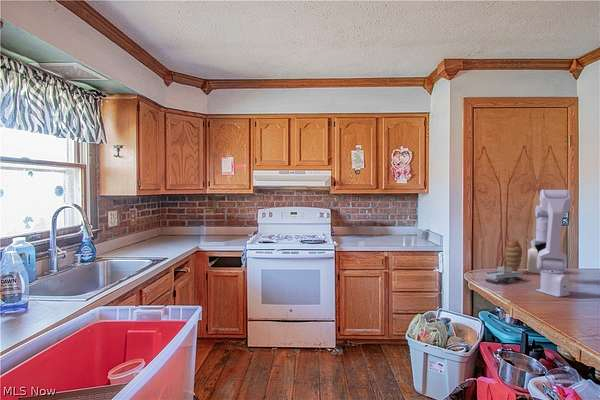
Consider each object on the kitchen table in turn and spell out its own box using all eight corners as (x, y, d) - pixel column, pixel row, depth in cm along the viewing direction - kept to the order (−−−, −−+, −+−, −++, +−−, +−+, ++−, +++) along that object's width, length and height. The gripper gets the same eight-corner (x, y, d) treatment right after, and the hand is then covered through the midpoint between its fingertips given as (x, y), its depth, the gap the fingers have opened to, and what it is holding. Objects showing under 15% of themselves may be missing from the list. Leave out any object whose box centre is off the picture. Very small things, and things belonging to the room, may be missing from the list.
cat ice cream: (525, 275, 174) (526, 240, 173) (509, 275, 174) (510, 240, 174) (515, 270, 183) (515, 237, 182) (500, 270, 183) (501, 237, 182)
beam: (523, 275, 164) (523, 271, 164) (496, 278, 157) (496, 274, 157) (511, 272, 169) (511, 269, 169) (484, 275, 163) (485, 271, 163)
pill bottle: (545, 274, 175) (546, 245, 175) (526, 272, 180) (527, 244, 179) (545, 271, 182) (546, 243, 181) (527, 269, 186) (528, 242, 186)
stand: (524, 280, 163) (524, 276, 163) (497, 284, 157) (497, 279, 157) (510, 277, 170) (510, 272, 170) (483, 280, 163) (483, 275, 163)
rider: (511, 273, 163) (511, 266, 163) (503, 274, 161) (504, 267, 161) (504, 272, 166) (504, 265, 166) (497, 273, 164) (497, 265, 164)
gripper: (544, 229, 170) (543, 256, 170) (524, 230, 165) (524, 258, 165) (560, 231, 163) (559, 259, 164) (539, 232, 158) (538, 261, 159)
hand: (542, 259), depth 164 cm, fingers closed
